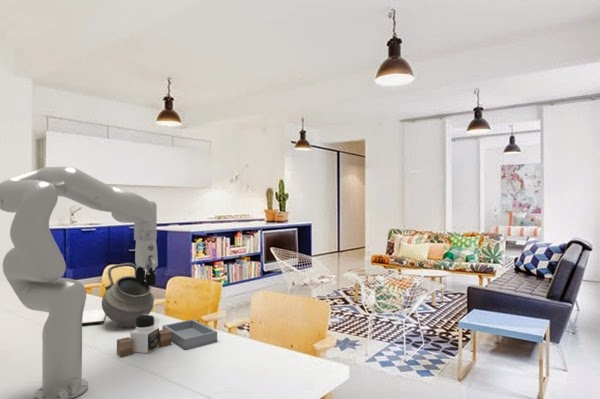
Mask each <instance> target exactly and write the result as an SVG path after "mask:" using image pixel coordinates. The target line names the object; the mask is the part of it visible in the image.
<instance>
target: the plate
mask: <svg viewBox="0 0 600 399" xmlns="http://www.w3.org/2000/svg"><path fill="white" fill-rule="evenodd" d="M105 316H106V314H105V313H104V311H103V309H102V308H101V309H92V310H83V317H82V326H85V325H97V324H100V323H103V322H104V320H105Z"/></svg>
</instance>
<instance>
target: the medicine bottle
mask: <svg viewBox="0 0 600 399" xmlns="http://www.w3.org/2000/svg"><path fill="white" fill-rule="evenodd" d="M159 330H160V327H159V326H155V317H154V314H150V313H149V314H145V315H140V316H138V317H137V318H136V327H135V329H134V330H132V331H130V332H129V334H130V336H129V338H131V339H132V340H133V353H137V354H138V353H140V354H149V353H151V352H153V350H156V349H157V348H159V347H160V346H159Z"/></svg>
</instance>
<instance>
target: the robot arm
mask: <svg viewBox="0 0 600 399" xmlns="http://www.w3.org/2000/svg"><path fill="white" fill-rule="evenodd" d="M59 197H64V198H66V199H69V200H72V201H74V202H77V204H81V205H82V206H85V207H88V208H89V209H91V210H95V211H101V212H107V213H111V216H112V218H113V220H114V221H117V222H119V223H124V224H125V223H126V224H127V223H129V224H130V223H131V224H133V240H134V241H135V253H134V257H135V258H134V261H135V266H136V281H144V280H146V286H151V287H152V286H156V274H157V267H158V266H159V264H158V263H159V261H158V245H157V234H158V231H157V230H158V229H157V228H158V227H157V224H158V223H157V219H158V218H157V216H158V215H157V213H158V212H157V210H158V209H157V208H158V207H157V206H158V205H157V202H155V201H152V200H148V199H147V198H145V197H143V196H142V195H140V194H137V193H134V192H132V191H129V190H125V189H122V188H118V187H116V186H112V185H110V184H107V183H104V182H103V181H100V180H99V179H97V178H95V177H93V176H92V175H89V174H88V173H86V172H84V171H83V170H80V169H78V168H76V167H73V166H45V167H42V168H39V169H38V168H37V169H35V170H33V171H29V172H26V173H23V174H20V175H19V176H18V175H17V176H15V177H12V178H8V179H5V180H4V181H2V182H0V210H1V211H4V212H6V213H12V214H13V213H15V214H14V217H13V220H12V222H11V225H10V229H9V236H10V240H11V243H12V245H13V246H14V247H13V248H11V249H9V251H8V252H7V253H6V254H5V256H4V257H3V259H2V272H3V274H4V276H5V279H6V280H7V281H8V284H9V285H10V287H11V289H12V290H13V291H14V294H15V295H16V296H17V299H18V300H19V301H20V302H21V304H22V305H23V306H24V307H25V308H27V309H29V310H32V311H37V312H42V313H43V312H44V313H48V317H47V319H46V321H45V322H44V324H43V328H42V335H41V337H42V344H41V345H42V346H41V348H42V349H41V350H42V351H41V352H42V354H41V355H42V358H41V360H42V361H41V362H42V371H41V372H42V373H41V374H42V377H41V378H42V380H41V382H42V385H41V386H40V387H39V388H38V389H37V390H36V392H35V399H74V398H76V397H78V396H81V395H82V394H83V393H84V392H86V391H87V389H88V387H89V382H88V381H87V380H86V379H85V378H83V325H82V317H83V311H85V310H84V309H85V306H86V299H87V290H86V287H85V286H84V284H83V283H81V282H80V281H78V280H75V279H73V278H67V277H63V276H64V274H65V272H66V268H67V265H66V261H65V259H64V256H63V254H62V252H61V250H60V248H59V246H58V244H57V242H56V241H55V238H54V237H53V234H52V232H51V228H50V219H51V216H52V213H53V211H54V209H55V208H56V206H57V203H58V198H59Z"/></svg>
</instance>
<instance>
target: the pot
mask: <svg viewBox="0 0 600 399" xmlns="http://www.w3.org/2000/svg"><path fill="white" fill-rule="evenodd" d="M124 267H132V268H133V269H134V275H125V276H121V277H119V278H118V279H117V280H116V281H115V283H114V279H113V277H112V270H114V269H117V268H124ZM107 277H108V280H109V281H110V283H109V285H106V286H104V289H105V291H104V293H103V296H102V299H101V309H103V311H104V313H105V316H106V317H107V318H108V319H110V320H111V321H113V322H114V323H115V324H116V327H117V328H118V329H122V328H123V329H124V328H127V329H130V328H136V318H137V317H138V316H140V315H145V314H149V315H150V314H151V311H152V310H153V307H154V301H155V298H154V295H153V293H152V286H146V279H145V280H144V281H136V264H134V263H131V262H126V263H119V264H115V265H111V266H110V267H109V268H108V270H107Z"/></svg>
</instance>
